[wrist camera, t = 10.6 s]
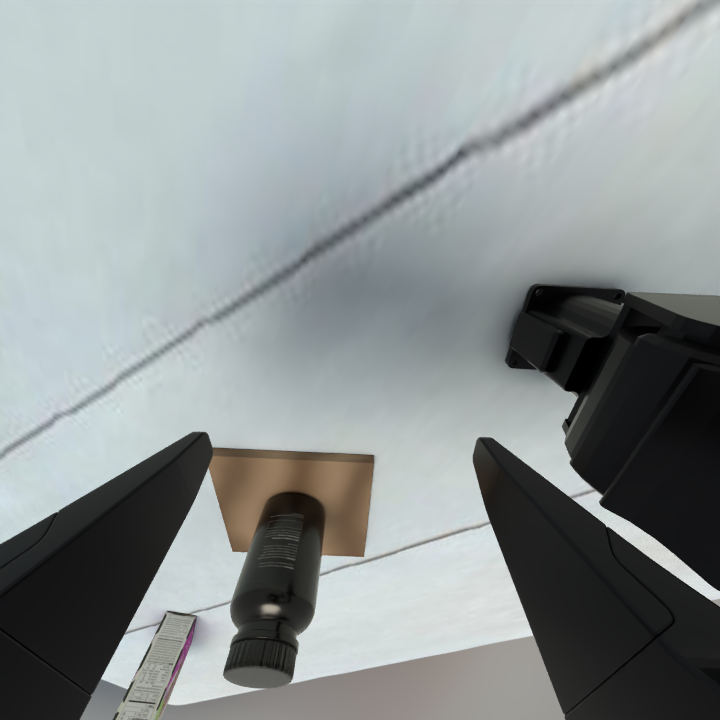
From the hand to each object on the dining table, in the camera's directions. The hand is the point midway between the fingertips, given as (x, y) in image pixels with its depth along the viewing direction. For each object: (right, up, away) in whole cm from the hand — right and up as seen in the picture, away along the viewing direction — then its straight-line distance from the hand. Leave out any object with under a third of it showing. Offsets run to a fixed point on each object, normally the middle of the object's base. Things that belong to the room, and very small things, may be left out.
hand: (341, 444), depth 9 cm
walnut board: (-6, -13, +21) cm, 26 cm away
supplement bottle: (-6, -14, +20) cm, 25 cm away
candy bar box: (-29, -42, +36) cm, 62 cm away
